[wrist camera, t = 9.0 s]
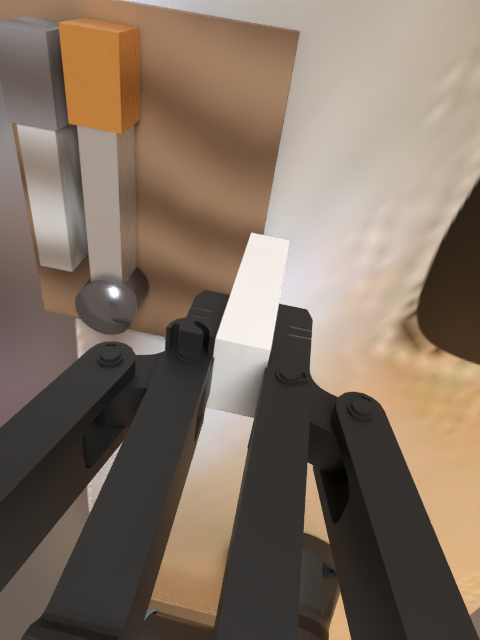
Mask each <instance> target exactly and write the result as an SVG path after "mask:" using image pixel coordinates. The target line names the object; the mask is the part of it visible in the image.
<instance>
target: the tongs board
mask: <svg viewBox="0 0 480 640" xmlns="http://www.w3.org/2000/svg"><path fill="white" fill-rule="evenodd" d="M85 17H86V18H92V19H98V20H103V21H109V22H115V23H120V24H126V25H131V26H137V27H140V116H141V120H139V121H138V122H137V123H136V124H135V190H136V257H137V267H138V268H139V269H140V270H141V271H142V272H143V273H144V274H145V276H146V278H147V280H148V283H149V293H148V296H147V297H146V299H145V301H144V303H143V304H142V306H141V308H140V309H139V311H138V313H137V314H136V316H135V318H134V320H133V321H132V323H131V325H130V326H129V328H128V329H133V330H137V331H142V332H147V333H151V334H156V335H161V336H165V337H166V327H167V326H168V325H169V324H170V322H172V321H174V320H176V319H179V318H185V317H186V316H187V314H188V312H189V309H190V308H191V305H192V303H193V300H194V298H195V296H197V295H198V294H199V293H201V292H202V291H204V290H210V291H214V292H219V293H224V294H229V295H230V294H231V291H232V288H233V285H234V282H235V279H236V276H237V273H238V271H239V268H240V265H241V262H242V259H243V256H244V253H245V250H246V247H247V244H248V241H249V238H250V235H251V233H255V234H260V235H263V233H264V227H265V222H266V216H267V211H268V205H269V200H270V194H271V189H272V183H273V177H274V172H275V166H276V161H277V155H278V150H279V144H280V139H281V133H282V127H283V122H284V116H285V111H286V105H287V100H288V94H289V89H290V83H291V77H292V72H293V66H294V61H295V55H296V50H297V44H298V39H299V33H300V31H296V30H290V29H284V28H278V27H273V26H267V25H261V24H255V23H250V22H244V21H238V20H232V19H227V18H221V17H215V16H209V15H204V14H198V13H192V12H186V11H181V10H175V9H169V8H163V7H158V6H152V5H146V4H140V3H135V2H129V1H123V0H0V76H1V81H2V87H3V92H4V98H5V103H6V109H7V114H8V120H9V122H12V126H13V132H14V138H15V143H16V149H17V155H18V160H19V166H20V172H21V177H22V183H23V189H24V194H25V199H26V206H27V211H28V217H29V222H30V228H31V234H32V239H33V245H34V251H35V257H36V262H37V268H38V273H39V279H40V284H41V290H42V296H43V302H44V307H45V311H49V312H53V313H58V314H63V315H67V316H72V317H77V318H80V317H79V315H78V313H77V311H76V308H75V299H76V296H77V294H78V293H79V292H80V291H81V289H82V288H83V287H84V286H85V285H86V283H87V282H88V281H89V280H90V278H91V274H90V263H89V252H88V241H87V230H86V219H85V208H84V197H83V186H82V175H81V164H80V153H79V142H78V131H77V125H73V124H69V122H68V112H67V102H66V92H65V82H64V72H63V63H62V53H61V43H60V33H59V23H58V22H63V21H68V20H74V19H79V18H85Z"/></svg>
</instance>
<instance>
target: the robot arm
mask: <svg viewBox="0 0 480 640" xmlns="http://www.w3.org/2000/svg"><path fill="white" fill-rule="evenodd" d="M289 242H290V240H286V239H281V238H276V237H271V236H265V235H260V234H255V233H251V235H250V238H249V241H248V244H247V247H246V250H245V253H244V256H243V259H242V262H241V265H240V268H239V271H238V273H237V276H236V279H235V282H234V285H233V288H232V291H231V294H230V295H229V294H224V293H219V292H214V291H210V290H204V291H202V292H201V293H199V294H198V295H197V296H195V298H194V300H193V303H192V305H191V308H190V309H189V312H188V314H187V316H186V317H185V318H179V319H176V320H174V321H172V322H170V324H169V325H168V326H167V327H166V344H165V351H164V352H161V353H158V354H152V355H135V353H134V351H133V350H132V348H131V347H129V346H128V345H126V344H124V343H120V342H103V343H100V344H97V345H95V346H94V347H92V348H90V349H89V350H88V351H87V352H86V353H85V354H83V355H82V356H81V357H80V358H79V359H78V360H77V361H75V362H74V363H73V364H72V365H71V366H70V367H69V368H68V369H67V370H65V371H64V372H63V373H62V374H61V375H60V376H59V377H57V378H56V379H55V380H54V381H53V382H52V383H51V384H49V385H48V386H47V387H46V388H45V389H44V390H43V391H42V392H40V393H39V394H38V395H37V396H36V397H35V398H34V399H32V400H31V401H30V402H29V403H28V404H27V405H26V406H24V407H23V408H22V409H21V410H20V411H19V412H18V413H17V414H15V415H14V416H13V417H12V418H11V419H10V420H9V421H8V422H7V423H5V424H4V425H3V426H2V427H1V428H0V592H1V591H2V590H3V588H4V587H5V586H6V585H7V583H8V582H9V581H10V580H11V579H12V577H13V576H14V575H15V574H16V572H17V571H18V570H19V569H20V567H21V566H22V565H23V564H24V563H25V561H26V560H27V559H28V558H29V556H30V555H31V554H32V553H33V551H34V550H35V549H36V548H37V546H38V545H39V544H40V543H41V542H42V540H43V539H44V538H45V537H46V535H47V534H48V533H49V532H50V531H51V529H52V528H53V527H54V525H55V524H56V523H57V522H58V521H59V519H60V518H61V517H62V516H63V514H64V513H65V512H66V511H67V510H68V508H69V507H70V506H71V505H72V503H73V502H74V501H75V500H76V498H77V497H78V496H79V495H80V493H81V492H82V491H83V490H84V489H85V487H86V486H87V485H88V484H89V482H90V481H91V480H92V479H93V478H94V476H95V475H96V474H97V473H98V471H99V470H100V469H101V468H102V466H103V465H104V464H105V463H106V462H107V460H108V459H109V458H110V457H111V455H112V454H113V453H114V452H115V450H116V449H117V448H118V447H119V446H120V444H121V443H122V442H123V443H122V445H121V447H120V449H119V452H118V454H117V456H116V458H115V460H114V462H113V465H112V467H111V469H110V471H109V473H108V476H107V478H106V480H105V482H104V484H103V486H102V489H101V491H100V493H99V495H98V497H97V499H96V502H95V504H94V506H93V508H92V510H91V512H90V515H89V517H88V519H87V521H86V523H85V526H84V528H83V530H82V532H81V534H80V536H79V539H78V541H77V543H76V545H75V548H74V549H73V552H72V554H71V556H70V558H69V560H68V563H67V565H66V567H65V569H64V571H63V573H62V575H61V578H60V580H59V582H58V584H57V586H56V589H55V591H54V593H53V595H52V597H51V599H50V602H49V604H48V606H47V608H46V609H45V611H44V613H43V614H42V616H41V617H40V618H39V619H38V620H37V621H35V622H34V623H32V624H31V625H30V627H29V628H28V629H27V631H26V632H25V633H24V635H23V637H22V639H21V640H329V627H330V623H331V620H332V617H333V614H334V610H335V607H336V604H337V601H338V598H339V595H340V591H341V595H342V600H343V604H344V609H345V613H346V618H347V622H348V627H349V631H350V635H351V640H479V637H478V635H477V632H476V630H475V628H474V625H473V623H472V620H471V618H470V616H469V613H468V611H467V608H466V606H465V604H464V601H463V599H462V596H461V594H460V592H459V589H458V587H457V584H456V582H455V579H454V577H453V575H452V572H451V570H450V567H449V565H448V563H447V560H446V558H445V555H444V553H443V551H442V548H441V546H440V543H439V541H438V539H437V536H436V534H435V531H434V529H433V527H432V524H431V522H430V519H429V517H428V514H427V512H426V510H425V507H424V505H423V502H422V500H421V498H420V495H419V493H418V490H417V488H416V486H415V483H414V481H413V478H412V476H411V474H410V471H409V469H408V466H407V464H406V462H405V459H404V457H403V454H402V452H401V449H400V447H399V445H398V442H397V440H396V437H395V435H394V433H393V430H392V428H391V425H390V423H389V421H388V418H387V416H386V413H385V411H384V410H383V408H382V406H381V405H380V404H379V403H378V402H377V401H376V400H375V399H373V398H372V397H370V396H368V395H366V394H363V393H358V392H347V393H344V394H342V395H341V396H339V398H338V397H336V396H334V395H332V394H330V393H328V392H326V391H325V390H323V389H321V388H320V387H319V386H318V385H317V384H316V383H315V382H314V381H313V379H312V377H311V374H310V353H311V337H312V321H313V320H312V318H311V316H310V314H309V312H308V310H307V309H302V308H297V307H292V306H287V305H282V304H279V300H280V294H281V289H282V283H283V277H284V271H285V266H286V260H287V254H288V248H289ZM206 404H207V408H212V409H216V410H221V411H225V412H230V413H235V414H239V415H244V416H248V417H253V418H254V422H253V426H252V431H251V435H250V439H249V444H248V451H247V457H246V462H245V467H244V472H243V478H242V483H241V488H240V494H239V499H238V504H237V509H236V515H235V520H234V525H233V531H232V536H231V541H230V546H229V552H228V557H227V562H226V568H225V573H224V578H223V583H222V589H221V594H220V599H219V605H218V610H217V615H216V620H215V626H214V627H213V626H209V625H206V624H202V623H198V622H195V621H191V620H188V619H184V618H181V617H177V616H174V615H170V614H166V613H163V612H160V611H159V610H158V609H151V610H149V609H148V606H149V602H150V599H151V596H152V592H153V589H154V586H155V582H156V579H157V576H158V572H159V569H160V566H161V562H162V559H163V555H164V552H165V549H166V545H167V542H168V539H169V535H170V532H171V528H172V525H173V522H174V518H175V515H176V512H177V508H178V505H179V502H180V498H181V495H182V491H183V488H184V485H185V481H186V478H187V475H188V471H189V468H190V464H191V461H192V458H193V454H194V451H195V448H196V444H197V441H198V438H199V434H200V431H201V427H202V424H203V419H204V412H205V408H206ZM307 462H308V463H310V464H312V465H313V471H314V476H315V480H316V485H317V489H318V493H319V498H320V502H321V507H322V511H323V516H324V520H325V524H326V529H327V533H328V538H329V542H330V545H329V544H327V543H326V542H324V541H322V540H320V539H318V538H316V537H313V536H310V535H307V534H304V533H303V530H304V513H305V496H306V478H307Z"/></svg>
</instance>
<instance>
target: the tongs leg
mask: <svg viewBox="0 0 480 640" xmlns="http://www.w3.org/2000/svg"><path fill="white" fill-rule="evenodd" d="M58 23H59V33H60V43H61V53H62V63H63V72H64V82H65V92H66V102H67V112H68V122H69V124H73V125H77V131H78V142H79V153H80V164H81V175H82V186H83V197H84V208H85V219H86V230H87V241H88V252H89V263H90V274H91V278H90V280H89V281H88V282H87V283H86V285H85V286H84V287H83V288H82V289H81V291H80V292H79V293H78V294H77V296H76V299H75V308H76V311H77V313H78V315H79V317H80V318H81V319H82V321H83V322H84V323H85V324H86V325H88V326H89V327H90V328H92V329H94V330H96V331H98V332H100V333H104V334H110V335H114V334H120V333H122V332H124V331H126V330H127V329H128V328H129V326H130V325H131V323H132V321H133V320H134V318H135V316H136V314H137V313H138V311H139V309H140V308H141V306H142V304H143V303H144V301H145V299H146V297H147V296H148V293H149V283H148V280H147V278H146V276H145V274H144V273H143V272H142V271H141V270H140V269H139V268H138V267H137V257H136V190H135V124H136V123H137V122H138V121H139V120H141V116H140V27H137V26H131V25H126V24H120V23H115V22H109V21H103V20H98V19H92V18H86V17H85V18H79V19H74V20H68V21H63V22H58Z"/></svg>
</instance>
